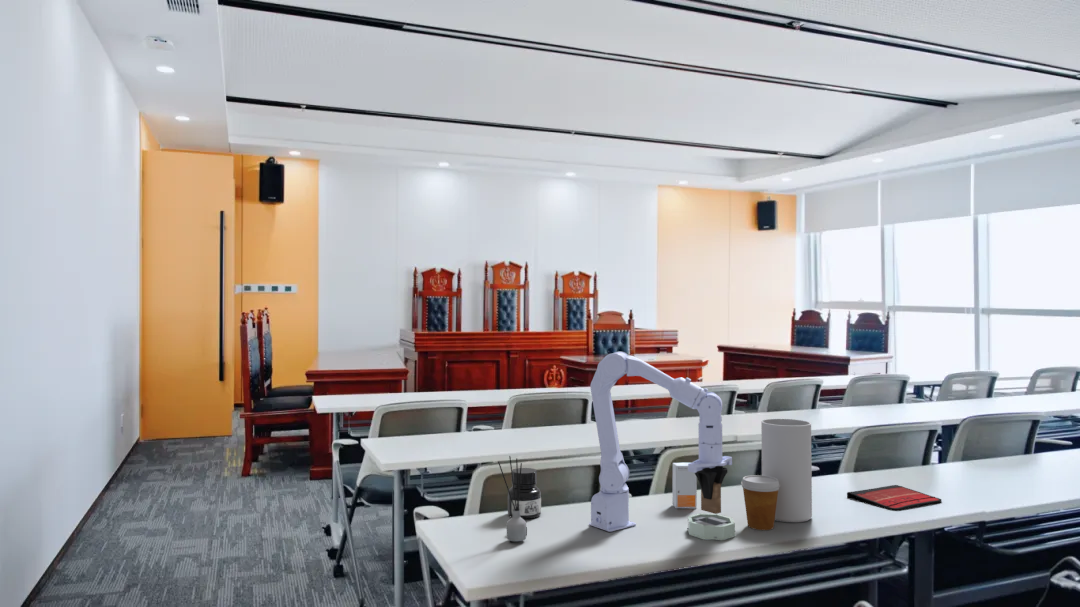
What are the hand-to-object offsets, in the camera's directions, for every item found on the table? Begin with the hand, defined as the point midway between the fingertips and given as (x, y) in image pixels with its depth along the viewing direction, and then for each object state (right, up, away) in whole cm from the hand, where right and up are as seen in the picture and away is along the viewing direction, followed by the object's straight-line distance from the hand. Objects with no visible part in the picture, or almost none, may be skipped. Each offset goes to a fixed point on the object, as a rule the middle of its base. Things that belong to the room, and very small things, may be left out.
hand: (710, 497), depth 174 cm
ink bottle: (-46, -9, +16) cm, 50 cm away
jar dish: (0, -9, 0) cm, 9 cm away
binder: (+60, -10, +30) cm, 68 cm away
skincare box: (-2, -9, +23) cm, 25 cm away
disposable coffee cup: (+14, -9, +5) cm, 17 cm away
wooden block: (0, -3, 0) cm, 3 cm away
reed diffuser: (-49, -9, -6) cm, 50 cm away
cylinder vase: (+23, -9, +14) cm, 29 cm away
